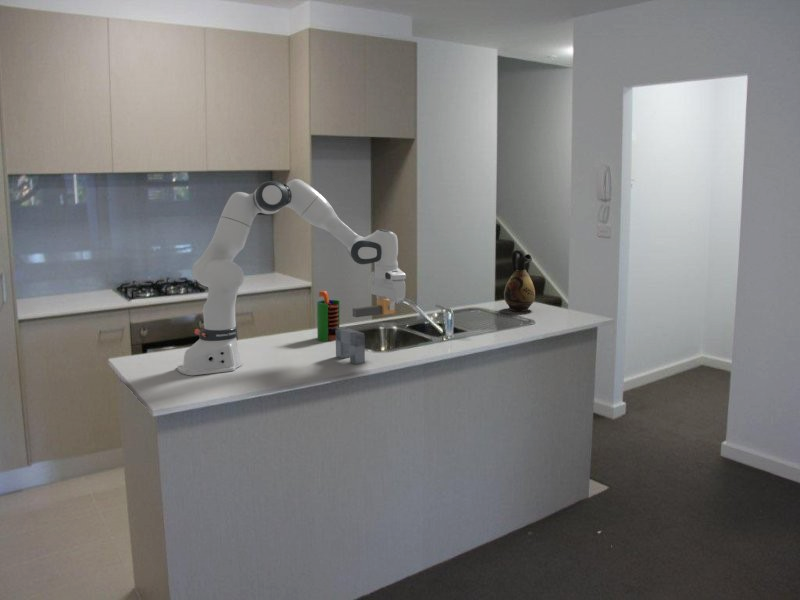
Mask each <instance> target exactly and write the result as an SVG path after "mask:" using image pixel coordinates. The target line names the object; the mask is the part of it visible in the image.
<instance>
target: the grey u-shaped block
mask: <svg viewBox="0 0 800 600" xmlns="http://www.w3.org/2000/svg"><path fill="white" fill-rule="evenodd" d="M365 347H366V345H365V333H364V332H362V331H358V330H356V329H352V328H349V327H347V326H341V327H340V326H339V328H336V340H335V356H337V358H339V359H341V358H342V359H348V358H349V363H351V364H353V365H359V364H365V363H366V362H365V361H366V357H365V355H366V352H365V351H366V349H365Z"/></svg>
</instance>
